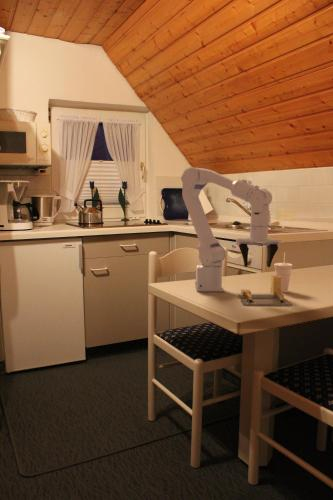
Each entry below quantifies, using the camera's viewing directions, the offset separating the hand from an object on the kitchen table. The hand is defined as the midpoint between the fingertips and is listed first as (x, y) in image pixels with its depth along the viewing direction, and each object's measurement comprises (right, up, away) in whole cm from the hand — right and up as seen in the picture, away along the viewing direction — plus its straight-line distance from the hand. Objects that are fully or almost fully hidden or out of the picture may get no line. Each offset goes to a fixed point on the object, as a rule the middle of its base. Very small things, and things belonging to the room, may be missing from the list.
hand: (257, 266), depth 140 cm
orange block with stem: (+6, -10, -3) cm, 12 cm away
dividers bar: (+1, -11, -3) cm, 11 cm away
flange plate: (+1, -11, -7) cm, 14 cm away
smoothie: (+11, -9, +9) cm, 17 cm away
